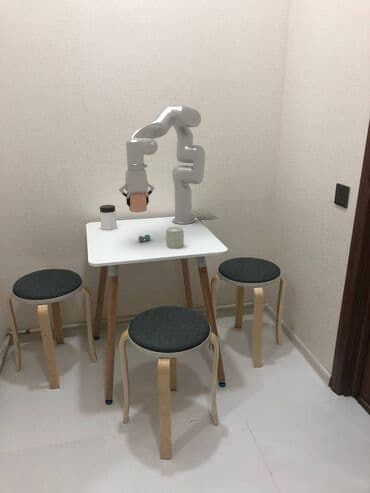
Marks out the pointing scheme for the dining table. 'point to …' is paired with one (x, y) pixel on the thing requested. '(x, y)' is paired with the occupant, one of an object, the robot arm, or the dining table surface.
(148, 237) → the marble
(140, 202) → the peach octagonal canister
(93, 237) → the dining table surface
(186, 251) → the dining table surface
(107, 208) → the jar
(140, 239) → the marble
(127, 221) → the dining table surface
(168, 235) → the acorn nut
